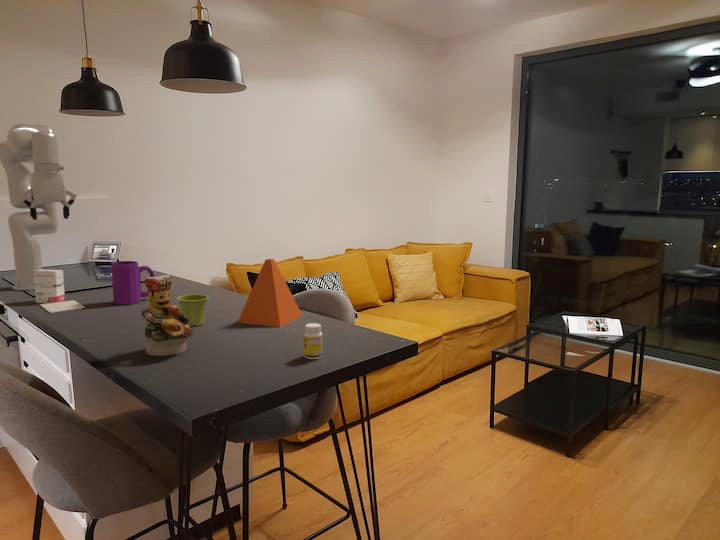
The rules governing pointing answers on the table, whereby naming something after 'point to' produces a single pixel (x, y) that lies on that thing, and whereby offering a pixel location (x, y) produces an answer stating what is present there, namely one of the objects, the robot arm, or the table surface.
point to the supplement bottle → (313, 341)
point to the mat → (61, 306)
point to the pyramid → (270, 299)
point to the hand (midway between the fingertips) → (50, 219)
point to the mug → (128, 282)
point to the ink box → (49, 286)
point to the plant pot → (193, 308)
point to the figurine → (164, 320)
